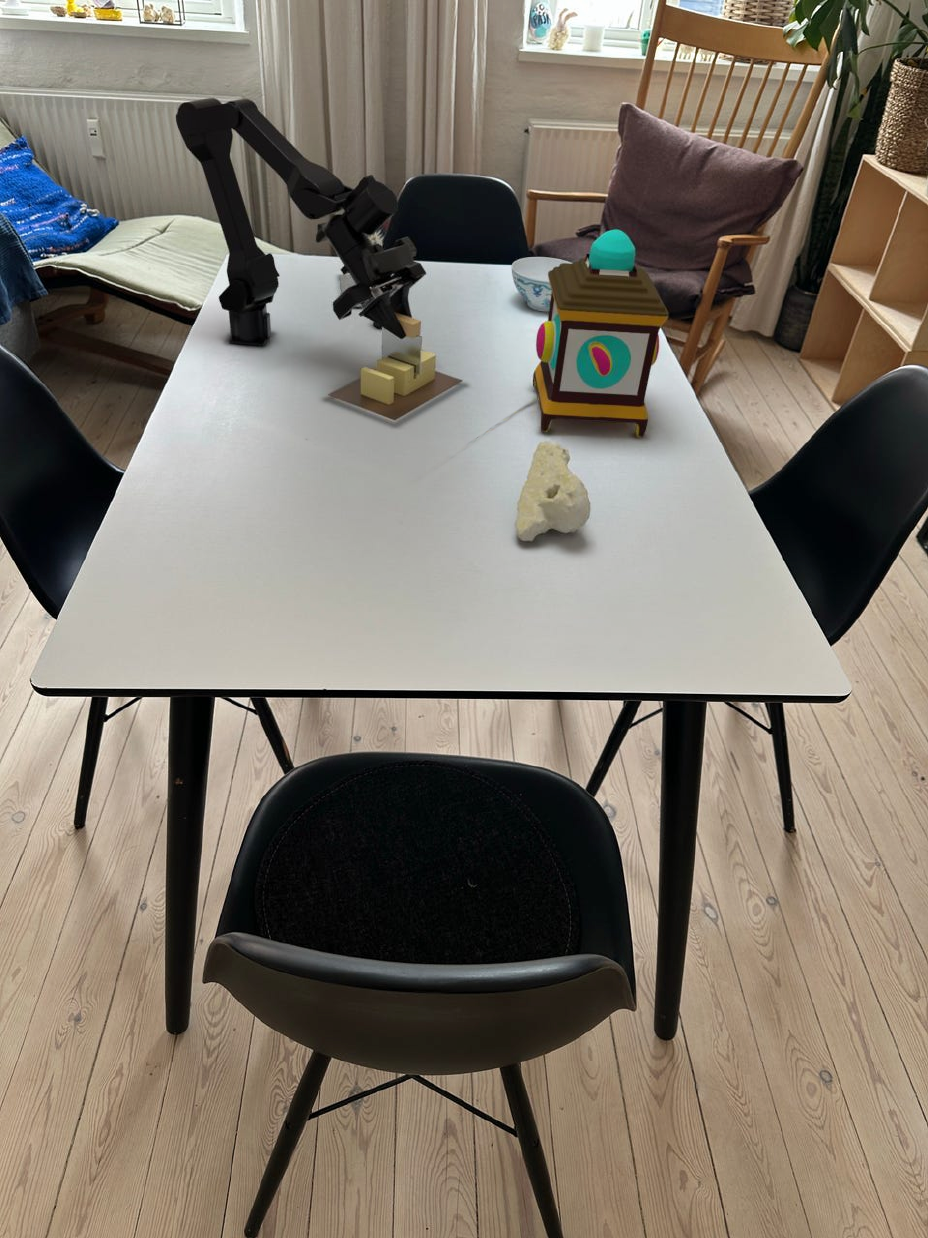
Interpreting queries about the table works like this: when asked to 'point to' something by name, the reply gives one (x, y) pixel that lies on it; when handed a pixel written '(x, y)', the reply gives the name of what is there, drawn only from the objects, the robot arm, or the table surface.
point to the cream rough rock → (551, 495)
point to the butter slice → (377, 385)
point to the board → (396, 396)
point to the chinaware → (535, 280)
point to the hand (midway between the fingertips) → (408, 335)
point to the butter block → (408, 372)
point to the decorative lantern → (599, 337)
